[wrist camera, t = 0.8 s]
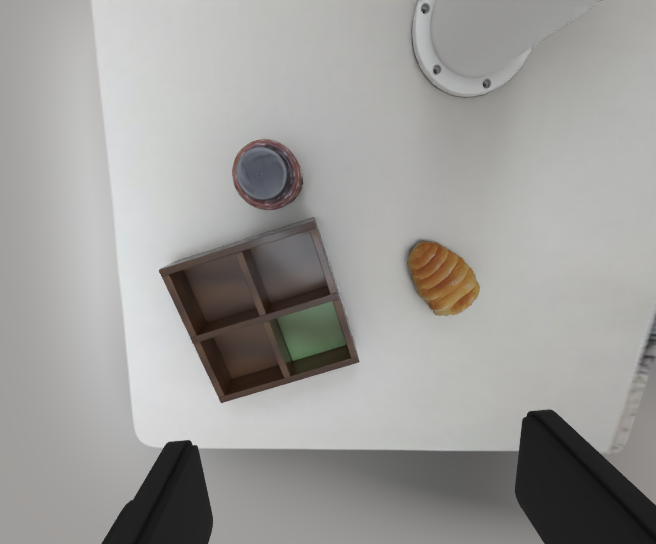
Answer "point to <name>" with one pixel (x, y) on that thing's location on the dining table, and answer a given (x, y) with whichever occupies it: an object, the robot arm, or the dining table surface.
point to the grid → (263, 310)
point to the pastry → (442, 278)
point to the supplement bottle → (267, 175)
